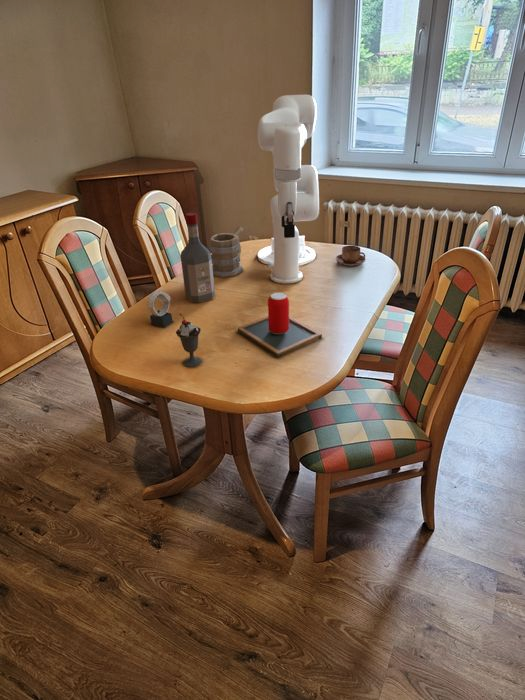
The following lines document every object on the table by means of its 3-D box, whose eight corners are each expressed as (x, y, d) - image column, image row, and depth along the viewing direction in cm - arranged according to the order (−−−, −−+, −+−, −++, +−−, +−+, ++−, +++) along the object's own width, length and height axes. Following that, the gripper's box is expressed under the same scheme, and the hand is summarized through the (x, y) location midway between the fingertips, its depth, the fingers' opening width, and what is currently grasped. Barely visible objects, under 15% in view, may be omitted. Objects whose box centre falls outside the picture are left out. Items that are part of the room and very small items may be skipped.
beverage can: (269, 326, 143) (268, 291, 137) (289, 326, 142) (289, 291, 136) (267, 336, 138) (266, 300, 132) (288, 336, 137) (288, 300, 131)
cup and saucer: (365, 258, 193) (366, 244, 190) (364, 269, 183) (365, 254, 180) (337, 257, 196) (337, 243, 192) (334, 267, 186) (335, 252, 182)
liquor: (217, 298, 165) (209, 214, 149) (194, 305, 161) (183, 219, 145) (206, 289, 171) (197, 208, 155) (183, 295, 167) (172, 213, 151)
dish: (275, 271, 184) (275, 244, 178) (248, 253, 203) (247, 228, 197) (326, 259, 194) (327, 233, 188) (296, 243, 213) (296, 218, 207)
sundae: (181, 356, 132) (174, 310, 124) (204, 355, 132) (199, 308, 124) (179, 369, 126) (172, 321, 118) (204, 367, 127) (198, 320, 119)
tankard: (229, 279, 179) (227, 241, 171) (204, 273, 185) (200, 237, 177) (257, 262, 193) (255, 227, 185) (233, 257, 199) (230, 223, 191)
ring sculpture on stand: (176, 319, 152) (172, 288, 146) (160, 330, 146) (155, 298, 140) (163, 316, 154) (158, 285, 148) (147, 326, 148) (141, 295, 143)
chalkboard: (237, 332, 143) (237, 327, 142) (279, 315, 152) (279, 311, 151) (278, 358, 130) (278, 353, 129) (321, 338, 138) (321, 333, 137)
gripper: (273, 168, 139) (274, 223, 149) (276, 182, 125) (277, 242, 134) (297, 166, 139) (297, 222, 149) (304, 180, 125) (303, 241, 134)
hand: (288, 231), depth 142 cm, fingers open, 9 cm apart
